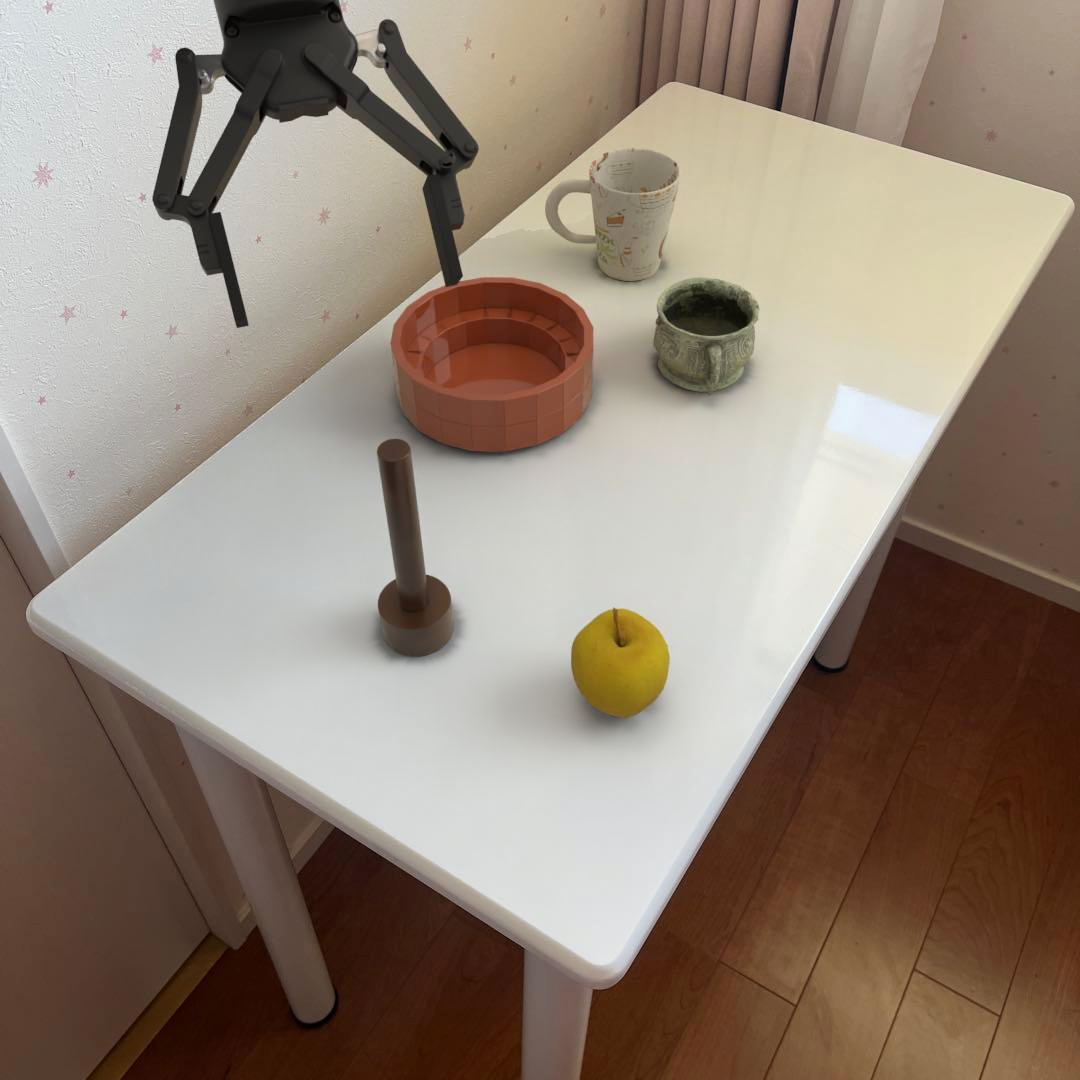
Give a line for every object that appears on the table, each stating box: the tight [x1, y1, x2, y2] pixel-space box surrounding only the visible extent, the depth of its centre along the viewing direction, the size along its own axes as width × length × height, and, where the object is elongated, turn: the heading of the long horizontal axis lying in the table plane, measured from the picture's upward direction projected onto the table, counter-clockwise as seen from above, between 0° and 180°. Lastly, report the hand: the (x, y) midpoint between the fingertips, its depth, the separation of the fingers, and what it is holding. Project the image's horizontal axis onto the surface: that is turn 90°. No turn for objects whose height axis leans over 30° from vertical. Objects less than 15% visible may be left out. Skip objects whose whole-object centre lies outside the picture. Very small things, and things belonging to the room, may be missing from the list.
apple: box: [570, 607, 671, 718], centre depth 71 cm, size 6×6×8 cm
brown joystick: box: [376, 438, 455, 657], centre depth 71 cm, size 5×5×17 cm
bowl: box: [389, 276, 595, 453], centre depth 93 cm, size 17×17×6 cm
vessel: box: [653, 277, 760, 396], centre depth 95 cm, size 12×9×6 cm
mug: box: [544, 147, 681, 282], centre depth 105 cm, size 8×13×10 cm, turn 81°
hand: (350, 302), depth 70 cm, fingers open, 13 cm apart
